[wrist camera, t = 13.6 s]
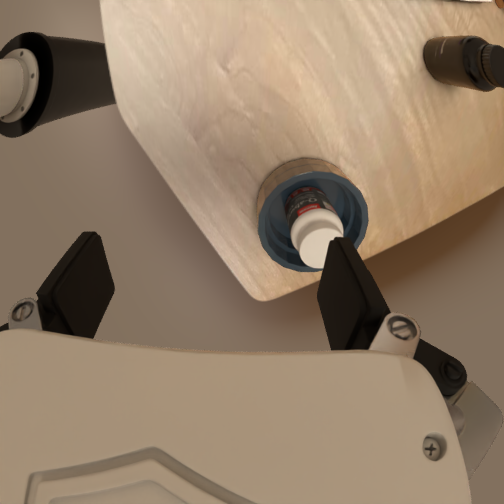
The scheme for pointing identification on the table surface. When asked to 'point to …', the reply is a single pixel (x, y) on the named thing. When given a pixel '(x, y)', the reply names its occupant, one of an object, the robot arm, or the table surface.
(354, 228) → the blue bowl
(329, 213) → the pill bottle
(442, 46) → the supplement bottle
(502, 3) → the small box
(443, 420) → the robot arm
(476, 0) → the plate
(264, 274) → the table surface
